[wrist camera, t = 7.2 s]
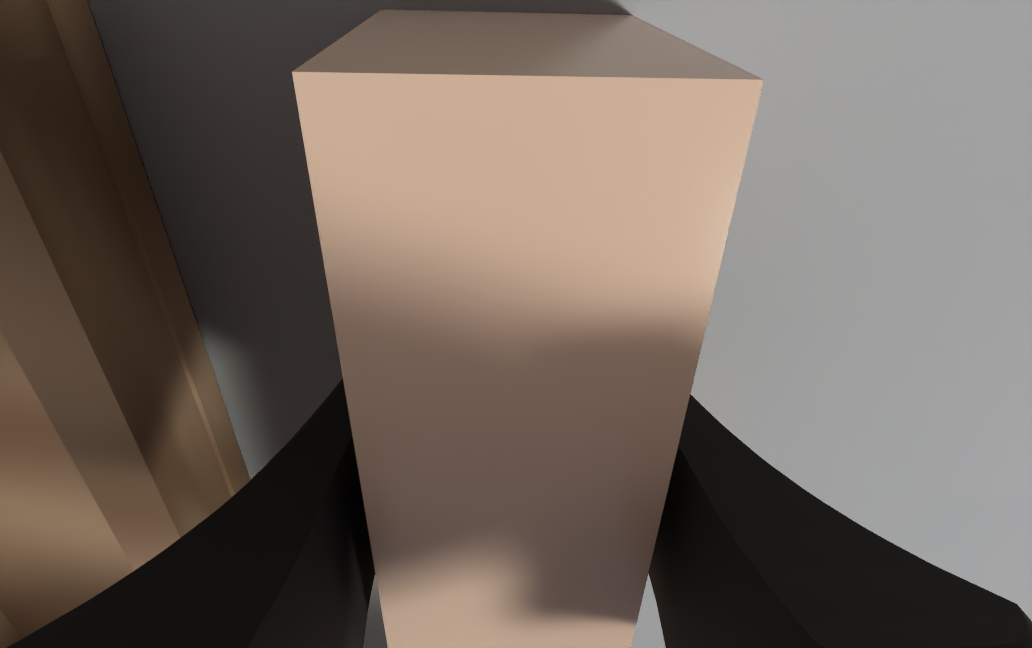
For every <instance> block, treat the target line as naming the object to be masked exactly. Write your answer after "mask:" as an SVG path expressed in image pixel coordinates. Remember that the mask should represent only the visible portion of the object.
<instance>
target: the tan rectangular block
mask: <svg viewBox="0 0 1032 648" xmlns="http://www.w3.org/2000/svg"><path fill="white" fill-rule="evenodd" d="M292 75H293V81H294V87H295V93H296V99H297V105H298V111H299V117H300V123H301V129H302V135H303V141H304V147H305V153H306V159H307V165H308V171H309V177H310V183H311V189H312V195H313V201H314V207H315V213H316V219H317V225H318V231H319V237H320V244H321V250H322V256H323V262H324V268H325V274H326V280H327V286H328V292H329V298H330V304H331V310H332V316H333V322H334V328H335V334H336V340H337V346H338V352H339V358H340V364H341V370H342V376H343V382H344V388H345V394H346V400H347V406H348V412H349V418H350V424H351V430H352V436H353V442H354V448H355V454H356V460H357V466H358V472H359V478H360V484H361V490H362V496H363V502H364V508H365V514H366V520H367V526H368V532H369V538H370V544H371V550H372V556H373V562H374V568H375V574H376V580H377V586H378V592H379V598H380V604H381V610H382V616H383V622H384V628H385V634H386V640H387V646H388V648H631V645H632V640H633V636H634V632H635V627H636V623H637V619H638V615H639V610H640V606H641V602H642V598H643V593H644V589H645V585H646V581H647V576H648V572H649V568H650V563H651V559H652V555H653V551H654V546H655V542H656V538H657V534H658V529H659V525H660V521H661V516H662V512H663V508H664V504H665V499H666V495H667V491H668V487H669V482H670V478H671V474H672V470H673V465H674V461H675V457H676V452H677V448H678V444H679V440H680V435H681V431H682V427H683V423H684V418H685V414H686V410H687V406H688V401H689V397H690V393H691V388H692V384H693V380H694V376H695V371H696V367H697V363H698V359H699V354H700V350H701V346H702V341H703V337H704V333H705V329H706V324H707V320H708V316H709V312H710V307H711V303H712V299H713V295H714V290H715V286H716V282H717V277H718V273H719V269H720V265H721V260H722V256H723V252H724V248H725V243H726V239H727V235H728V231H729V226H730V222H731V218H732V213H733V209H734V205H735V201H736V196H737V192H738V188H739V184H740V179H741V175H742V171H743V166H744V162H745V158H746V154H747V149H748V145H749V141H750V137H751V132H752V128H753V124H754V120H755V115H756V111H757V107H758V102H759V98H760V94H761V90H762V85H763V81H764V80H763V79H761V78H759V77H757V76H755V75H753V74H751V73H749V72H747V71H745V70H743V69H741V68H739V67H737V66H735V65H733V64H731V63H729V62H727V61H725V60H723V59H721V58H718V57H716V56H714V55H712V54H710V53H708V52H706V51H704V50H702V49H700V48H698V47H696V46H694V45H692V44H690V43H688V42H686V41H684V40H682V39H680V38H678V37H676V36H674V35H672V34H670V33H668V32H666V31H664V30H661V29H659V28H657V27H655V26H653V25H651V24H649V23H647V22H645V21H643V20H641V19H639V18H637V17H635V16H633V15H604V14H560V13H516V12H473V11H429V10H385V9H382V10H380V11H379V12H377V13H376V14H374V15H373V16H371V17H370V18H369V19H367V20H366V21H364V22H363V23H361V24H360V25H359V26H357V27H356V28H354V29H353V30H351V31H350V32H348V33H347V34H346V35H344V36H343V37H341V38H340V39H338V40H337V41H336V42H334V43H333V44H331V45H330V46H328V47H327V48H325V49H324V50H323V51H321V52H320V53H318V54H317V55H315V56H314V57H313V58H311V59H310V60H308V61H307V62H305V63H304V64H302V65H301V66H300V67H298V68H297V69H295V70H294V71H292Z"/></svg>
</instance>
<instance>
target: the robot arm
mask: <svg viewBox="0 0 1032 648" xmlns="http://www.w3.org/2000/svg"><path fill="white" fill-rule="evenodd" d="M648 573H649V576H650V580H651V583H652V587H653V591H654V595H655V598H656V602H657V607H658V612H659V617H660V622H661V626H662V631H663V636H664V641H665V646H666V648H1032V621H1031V620H1030V619H1029V618H1028V616H1027V615H1026V614H1025V613H1024V612H1023V611H1022V610H1021V608H1020V607H1019V606H1018V605H1017V604H1015V603H1013V602H1011V601H1009V600H1007V599H1005V598H1003V597H1000V596H998V595H996V594H994V593H992V592H990V591H988V590H985V589H983V588H981V587H979V586H977V585H975V584H972V583H970V582H968V581H966V580H964V579H962V578H960V577H957V576H955V575H953V574H951V573H949V572H947V571H945V570H942V569H940V568H938V567H936V566H934V565H932V564H930V563H928V562H926V561H925V560H923V559H921V558H919V557H917V556H915V555H913V554H911V553H910V552H908V551H906V550H904V549H902V548H900V547H898V546H896V545H894V544H893V543H891V542H889V541H887V540H885V539H884V538H882V537H880V536H878V535H876V534H875V533H873V532H871V531H869V530H868V529H866V528H864V527H862V526H861V525H859V524H857V523H856V522H854V521H853V520H851V519H849V518H848V517H846V516H845V515H843V514H841V513H840V512H838V511H837V510H835V509H833V508H832V507H830V506H828V505H827V504H825V503H824V502H822V501H821V500H819V499H818V498H816V497H815V496H813V495H812V494H810V493H809V492H807V491H806V490H804V489H803V488H801V487H800V486H799V485H797V484H796V483H794V482H793V481H792V480H790V479H789V478H788V477H786V476H785V475H783V474H782V473H781V472H779V471H778V470H777V469H775V468H774V467H772V466H771V465H770V464H769V463H767V462H766V461H765V460H763V459H762V458H761V457H760V456H758V455H757V454H756V453H755V452H753V451H752V450H751V449H750V448H749V447H747V446H746V445H745V444H744V443H743V442H742V441H740V440H739V439H738V438H737V437H736V436H734V435H733V434H732V433H731V432H730V431H729V430H728V429H726V428H725V427H724V426H723V425H722V424H721V423H720V422H719V421H718V420H717V419H715V418H714V417H713V416H712V415H711V414H710V413H709V412H708V411H707V410H706V409H705V408H704V407H703V406H702V405H701V404H700V403H699V402H698V401H697V400H696V399H695V398H694V397H693V396H692V395H691V394H690V397H689V401H688V406H687V410H686V414H685V418H684V423H683V427H682V431H681V435H680V440H679V444H678V448H677V452H676V457H675V461H674V465H673V470H672V474H671V478H670V482H669V487H668V491H667V495H666V499H665V504H664V508H663V512H662V516H661V521H660V525H659V529H658V534H657V538H656V542H655V546H654V551H653V555H652V559H651V563H650V568H649V572H648ZM374 576H375V568H374V562H373V556H372V550H371V544H370V538H369V532H368V526H367V520H366V514H365V508H364V502H363V496H362V490H361V484H360V478H359V472H358V466H357V460H356V454H355V448H354V442H353V436H352V430H351V424H350V418H349V412H348V406H347V400H346V394H345V388H344V382H343V378H342V379H341V381H340V382H339V383H338V385H337V386H336V387H335V388H334V390H333V391H332V392H331V393H330V395H329V396H328V397H327V398H326V399H325V401H324V402H323V403H322V404H321V406H320V407H319V408H318V409H317V410H316V411H315V413H314V414H313V415H312V416H311V417H310V418H309V419H308V421H307V422H306V423H305V424H304V425H303V426H302V428H301V429H300V430H299V431H298V432H297V433H296V434H295V435H294V437H293V438H292V439H291V440H290V441H289V442H288V443H287V444H286V445H285V446H284V447H283V448H282V449H281V450H280V451H279V452H278V453H277V454H276V455H275V456H274V457H273V458H272V459H271V460H270V462H269V463H268V464H267V465H266V466H265V467H264V468H263V469H262V470H261V471H260V472H258V473H257V474H256V475H255V476H254V477H253V478H252V479H251V480H250V481H249V482H248V483H247V484H246V485H245V486H244V487H242V488H241V489H240V490H239V491H238V492H237V493H236V494H235V495H233V496H232V497H231V498H230V499H229V500H228V501H227V502H225V503H224V504H223V505H222V506H221V507H220V508H218V509H217V510H216V511H215V512H214V513H212V514H211V515H210V516H208V517H207V518H206V519H204V520H203V521H202V522H200V523H199V524H198V525H197V526H195V527H194V528H193V529H191V530H190V531H189V532H187V533H186V534H185V535H183V536H182V537H181V538H179V539H178V540H177V541H176V542H174V543H173V544H172V545H170V546H169V547H168V548H166V549H165V550H164V551H162V552H161V553H159V554H158V555H156V556H155V557H154V558H152V559H151V560H149V561H148V562H146V563H145V564H143V565H142V566H140V567H139V568H138V569H136V570H135V571H133V572H132V573H130V574H129V575H127V576H125V577H124V578H122V579H121V580H119V581H118V582H116V583H115V584H113V585H112V586H110V587H108V588H107V589H105V590H104V591H102V592H101V593H99V594H97V595H96V596H94V597H93V598H91V599H89V600H88V601H86V602H85V603H83V604H81V605H80V606H78V607H76V608H74V609H73V610H71V611H69V612H68V613H66V614H64V615H62V616H61V617H59V618H57V619H55V620H54V621H52V622H50V623H49V624H47V625H45V626H43V627H42V628H40V629H38V630H36V631H35V632H33V633H31V634H30V635H28V636H26V637H24V638H23V639H21V640H19V641H17V642H16V643H14V644H12V645H10V646H8V647H6V648H363V643H364V635H365V627H366V619H367V612H368V606H369V601H370V595H371V590H372V585H373V581H374Z"/></svg>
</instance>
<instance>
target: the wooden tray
mask: <svg viewBox="0 0 1032 648" xmlns="http://www.w3.org/2000/svg"><path fill="white" fill-rule="evenodd" d="M249 481H250V478H249V475H248V472H247V469H246V467H245V464H244V461H243V458H242V455H241V452H240V449H239V446H238V443H237V440H236V437H235V434H234V431H233V428H232V425H231V422H230V419H229V417H228V414H227V411H226V408H225V405H224V402H223V399H222V396H221V393H220V390H219V387H218V384H217V381H216V378H215V375H214V372H213V370H212V367H211V364H210V361H209V358H208V355H207V352H206V349H205V346H204V343H203V340H202V337H201V334H200V331H199V328H198V325H197V322H196V320H195V317H194V314H193V311H192V308H191V305H190V302H189V299H188V296H187V293H186V290H185V287H184V284H183V281H182V278H181V275H180V272H179V270H178V267H177V264H176V261H175V258H174V255H173V252H172V249H171V246H170V243H169V240H168V237H167V234H166V231H165V228H164V225H163V222H162V220H161V217H160V214H159V211H158V208H157V205H156V202H155V199H154V196H153V193H152V190H151V187H150V184H149V181H148V178H147V175H146V172H145V170H144V167H143V164H142V161H141V158H140V155H139V152H138V149H137V146H136V143H135V140H134V137H133V134H132V131H131V128H130V125H129V122H128V120H127V117H126V114H125V111H124V108H123V105H122V102H121V99H120V96H119V93H118V90H117V87H116V84H115V81H114V78H113V75H112V72H111V70H110V67H109V64H108V61H107V58H106V55H105V52H104V49H103V46H102V43H101V40H100V37H99V34H98V31H97V28H96V25H95V22H94V20H93V17H92V14H91V11H90V8H89V5H88V2H87V0H0V648H6V647H8V646H10V645H12V644H14V643H16V642H17V641H19V640H21V639H23V638H24V637H26V636H28V635H30V634H31V633H33V632H35V631H36V630H38V629H40V628H42V627H43V626H45V625H47V624H49V623H50V622H52V621H54V620H55V619H57V618H59V617H61V616H62V615H64V614H66V613H68V612H69V611H71V610H73V609H74V608H76V607H78V606H80V605H81V604H83V603H85V602H86V601H88V600H89V599H91V598H93V597H94V596H96V595H97V594H99V593H101V592H102V591H104V590H105V589H107V588H108V587H110V586H112V585H113V584H115V583H116V582H118V581H119V580H121V579H122V578H124V577H125V576H127V575H129V574H130V573H132V572H133V571H135V570H136V569H138V568H139V567H140V566H142V565H143V564H145V563H146V562H148V561H149V560H151V559H152V558H154V557H155V556H156V555H158V554H159V553H161V552H162V551H164V550H165V549H166V548H168V547H169V546H170V545H172V544H173V543H174V542H176V541H177V540H178V539H179V538H181V537H182V536H183V535H185V534H186V533H187V532H189V531H190V530H191V529H193V528H194V527H195V526H197V525H198V524H199V523H200V522H202V521H203V520H204V519H206V518H207V517H208V516H210V515H211V514H212V513H214V512H215V511H216V510H217V509H218V508H220V507H221V506H222V505H223V504H224V503H225V502H227V501H228V500H229V499H230V498H231V497H232V496H233V495H235V494H236V493H237V492H238V491H239V490H240V489H241V488H242V487H244V486H245V485H246V484H247V483H248V482H249Z"/></svg>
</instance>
